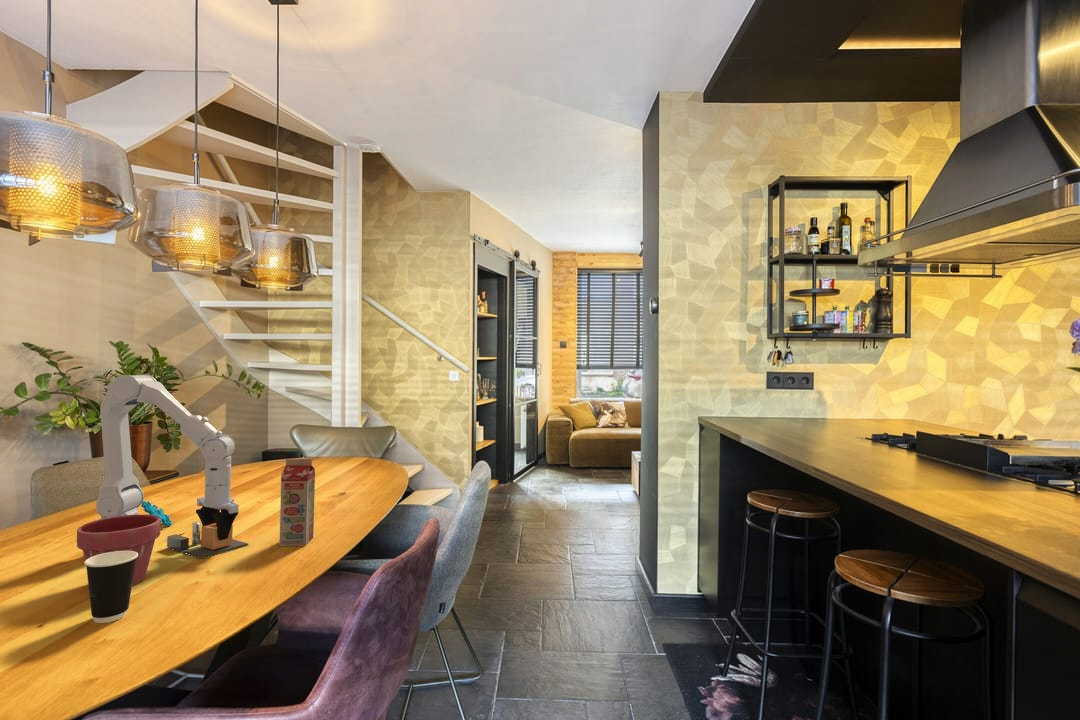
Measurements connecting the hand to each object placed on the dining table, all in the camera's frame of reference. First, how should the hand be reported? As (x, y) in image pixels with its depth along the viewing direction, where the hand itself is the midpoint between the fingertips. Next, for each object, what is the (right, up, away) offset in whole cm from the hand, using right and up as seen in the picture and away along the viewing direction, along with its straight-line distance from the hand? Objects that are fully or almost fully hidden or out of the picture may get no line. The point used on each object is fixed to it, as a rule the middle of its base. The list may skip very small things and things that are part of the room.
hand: (216, 537), depth 141 cm
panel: (0, -3, 0) cm, 3 cm away
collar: (0, -2, 0) cm, 2 cm away
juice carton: (+17, -4, +7) cm, 19 cm away
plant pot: (-8, -3, -23) cm, 24 cm away
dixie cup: (+3, -3, -39) cm, 39 cm away
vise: (-7, -3, +3) cm, 9 cm away
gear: (-28, -3, +19) cm, 34 cm away
